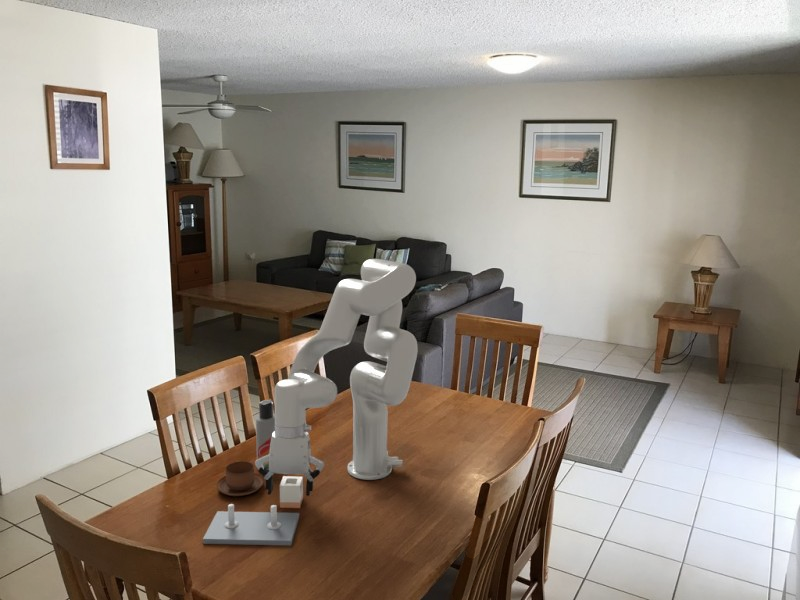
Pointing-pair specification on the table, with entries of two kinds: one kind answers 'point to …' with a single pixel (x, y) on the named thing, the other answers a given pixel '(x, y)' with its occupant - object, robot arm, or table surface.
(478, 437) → the table surface
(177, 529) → the table surface
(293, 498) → the sleeve
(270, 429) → the lotion bottle
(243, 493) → the cup and saucer
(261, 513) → the pin board
